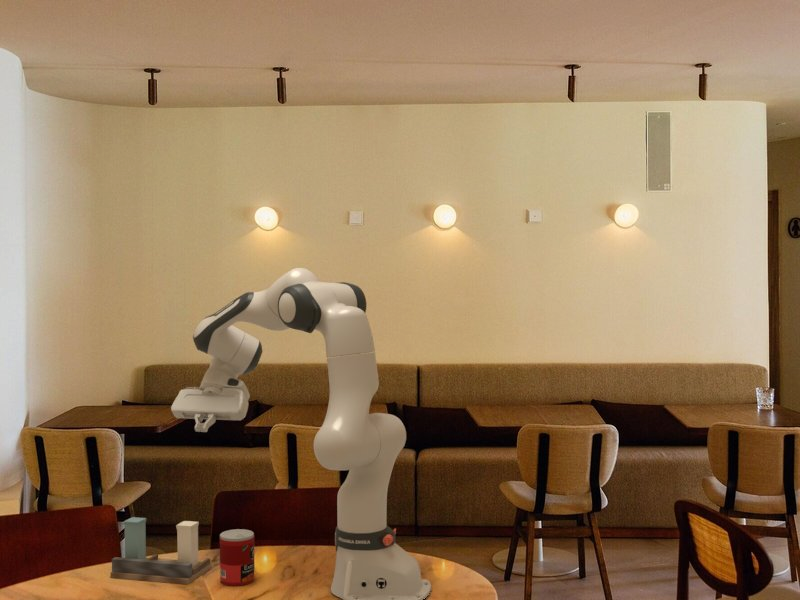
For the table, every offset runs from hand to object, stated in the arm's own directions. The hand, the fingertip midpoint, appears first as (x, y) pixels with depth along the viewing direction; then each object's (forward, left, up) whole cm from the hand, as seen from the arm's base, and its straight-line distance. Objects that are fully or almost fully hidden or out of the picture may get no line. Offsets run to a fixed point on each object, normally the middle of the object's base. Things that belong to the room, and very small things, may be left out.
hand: (200, 430), depth 218 cm
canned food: (-18, +17, -32) cm, 40 cm away
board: (+2, +16, -31) cm, 35 cm away
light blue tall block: (+9, +16, -30) cm, 35 cm away
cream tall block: (-5, +17, -30) cm, 34 cm away
